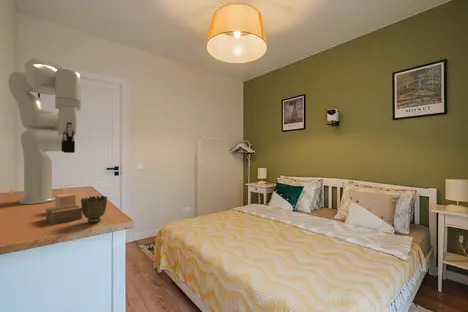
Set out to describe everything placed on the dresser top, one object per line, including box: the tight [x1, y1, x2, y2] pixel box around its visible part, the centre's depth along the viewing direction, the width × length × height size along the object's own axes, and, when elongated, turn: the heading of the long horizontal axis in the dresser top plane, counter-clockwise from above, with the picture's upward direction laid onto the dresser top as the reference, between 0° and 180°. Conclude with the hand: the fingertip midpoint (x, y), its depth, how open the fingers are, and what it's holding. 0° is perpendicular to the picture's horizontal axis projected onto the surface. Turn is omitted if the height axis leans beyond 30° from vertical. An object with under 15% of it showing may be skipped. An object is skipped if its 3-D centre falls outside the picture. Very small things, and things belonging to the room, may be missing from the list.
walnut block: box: [45, 204, 83, 225], centre depth 79 cm, size 8×8×4 cm
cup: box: [80, 195, 108, 224], centre depth 76 cm, size 8×7×8 cm
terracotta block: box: [54, 193, 76, 207], centre depth 89 cm, size 5×5×6 cm
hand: (67, 152), depth 86 cm, fingers open, 9 cm apart
